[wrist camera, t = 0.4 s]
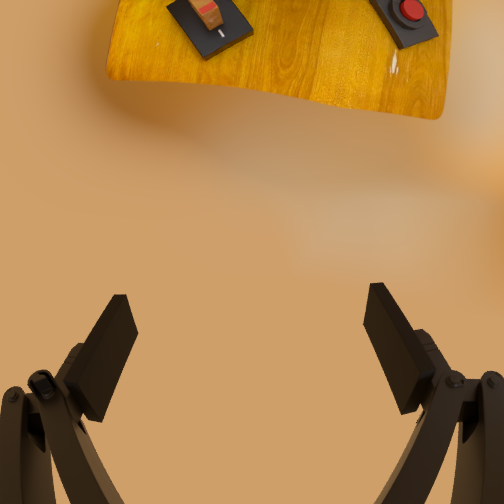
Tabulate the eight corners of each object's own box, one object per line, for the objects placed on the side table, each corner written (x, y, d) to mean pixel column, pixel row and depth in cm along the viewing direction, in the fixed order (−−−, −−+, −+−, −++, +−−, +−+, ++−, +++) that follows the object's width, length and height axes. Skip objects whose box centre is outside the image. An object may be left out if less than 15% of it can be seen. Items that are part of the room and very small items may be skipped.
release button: (395, 3, 34) (399, 1, 33) (411, -1, 33) (416, -4, 32) (407, 23, 36) (411, 21, 34) (423, 18, 35) (428, 16, 33)
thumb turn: (193, 9, 36) (183, -8, 29) (207, 1, 36) (199, -18, 28) (209, 30, 38) (201, 15, 31) (223, 23, 38) (218, 6, 30)
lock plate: (170, 11, 39) (165, 6, 36) (216, -15, 37) (214, -22, 34) (205, 60, 43) (203, 57, 40) (253, 34, 41) (253, 29, 38)
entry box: (364, -6, 36) (372, -13, 33) (401, -16, 35) (410, -22, 31) (399, 49, 41) (409, 46, 37) (433, 37, 39) (444, 34, 35)
